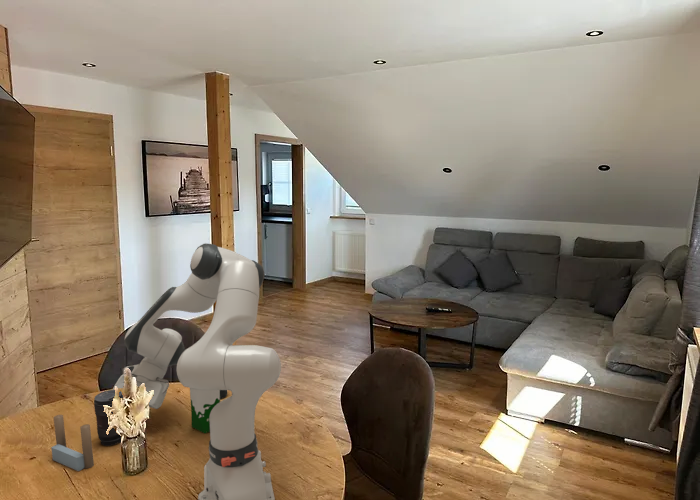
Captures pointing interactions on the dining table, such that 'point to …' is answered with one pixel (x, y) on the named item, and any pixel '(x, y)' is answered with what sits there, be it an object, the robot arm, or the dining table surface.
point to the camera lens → (105, 418)
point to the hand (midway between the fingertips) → (126, 415)
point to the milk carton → (203, 407)
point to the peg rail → (68, 455)
